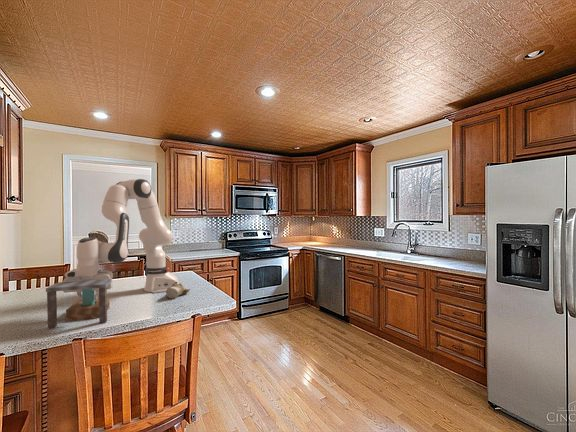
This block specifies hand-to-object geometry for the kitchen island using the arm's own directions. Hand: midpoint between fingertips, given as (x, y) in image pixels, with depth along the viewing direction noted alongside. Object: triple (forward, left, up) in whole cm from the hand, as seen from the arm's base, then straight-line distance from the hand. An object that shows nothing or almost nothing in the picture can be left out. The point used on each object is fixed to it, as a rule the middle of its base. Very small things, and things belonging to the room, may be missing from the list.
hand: (88, 299), depth 141 cm
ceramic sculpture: (-39, -18, -7) cm, 43 cm away
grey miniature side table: (0, +4, -7) cm, 8 cm away
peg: (0, 0, -5) cm, 5 cm away
